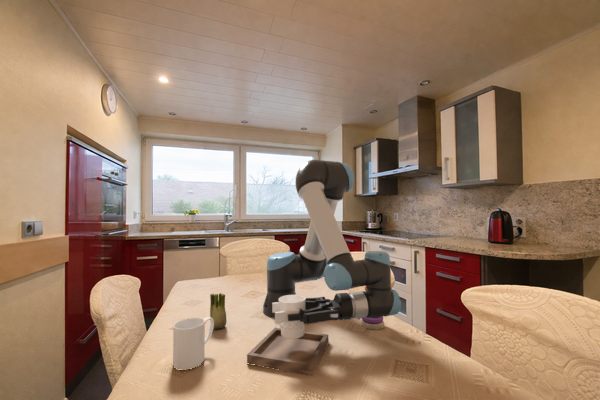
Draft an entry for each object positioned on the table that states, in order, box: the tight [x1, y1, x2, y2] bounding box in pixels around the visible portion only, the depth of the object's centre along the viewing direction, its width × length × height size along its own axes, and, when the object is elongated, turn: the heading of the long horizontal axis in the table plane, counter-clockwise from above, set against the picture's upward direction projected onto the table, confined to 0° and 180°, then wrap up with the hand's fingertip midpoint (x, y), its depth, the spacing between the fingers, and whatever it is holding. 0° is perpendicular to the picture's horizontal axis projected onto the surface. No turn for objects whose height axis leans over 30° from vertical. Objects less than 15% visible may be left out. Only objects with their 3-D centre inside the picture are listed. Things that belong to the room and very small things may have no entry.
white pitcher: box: [172, 316, 214, 370], centre depth 74 cm, size 12×8×10 cm, turn 150°
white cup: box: [278, 294, 307, 339], centre depth 77 cm, size 8×8×10 cm
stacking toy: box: [360, 286, 385, 330], centre depth 95 cm, size 8×8×19 cm
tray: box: [246, 327, 330, 377], centre depth 77 cm, size 18×18×2 cm
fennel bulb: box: [209, 292, 228, 330], centre depth 96 cm, size 6×5×12 cm
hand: (273, 312), depth 76 cm, fingers closed on white cup, 7 cm apart
